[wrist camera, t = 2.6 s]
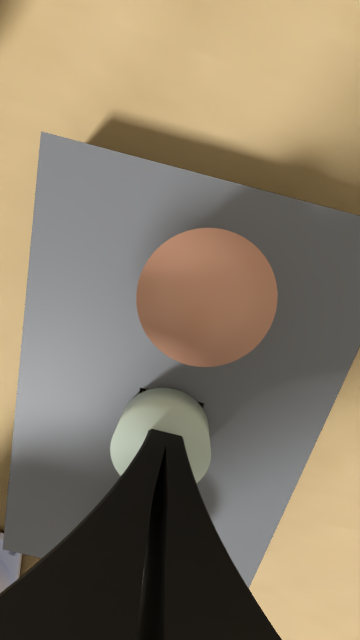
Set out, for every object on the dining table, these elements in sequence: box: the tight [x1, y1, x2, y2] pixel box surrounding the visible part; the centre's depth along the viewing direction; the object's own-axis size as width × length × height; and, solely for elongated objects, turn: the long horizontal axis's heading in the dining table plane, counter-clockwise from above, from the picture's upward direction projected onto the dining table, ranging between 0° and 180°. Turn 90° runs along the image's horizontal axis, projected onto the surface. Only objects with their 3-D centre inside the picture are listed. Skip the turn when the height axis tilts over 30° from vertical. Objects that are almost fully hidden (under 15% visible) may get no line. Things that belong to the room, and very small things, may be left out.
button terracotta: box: [136, 228, 278, 367], centre depth 9 cm, size 4×4×4 cm
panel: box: [3, 132, 360, 588], centre depth 13 cm, size 21×14×2 cm, turn 166°
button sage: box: [110, 388, 211, 483], centre depth 12 cm, size 4×4×4 cm
